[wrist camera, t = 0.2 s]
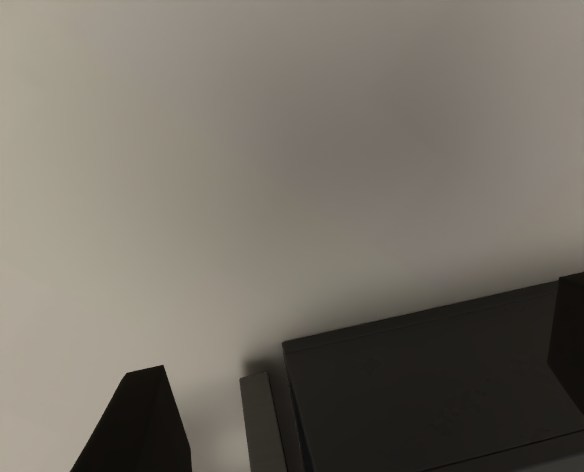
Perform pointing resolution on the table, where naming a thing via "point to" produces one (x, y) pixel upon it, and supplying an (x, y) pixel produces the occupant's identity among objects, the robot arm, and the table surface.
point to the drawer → (262, 425)
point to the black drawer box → (437, 392)
